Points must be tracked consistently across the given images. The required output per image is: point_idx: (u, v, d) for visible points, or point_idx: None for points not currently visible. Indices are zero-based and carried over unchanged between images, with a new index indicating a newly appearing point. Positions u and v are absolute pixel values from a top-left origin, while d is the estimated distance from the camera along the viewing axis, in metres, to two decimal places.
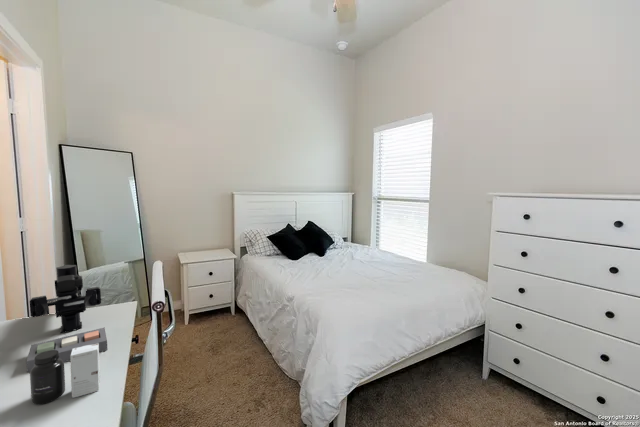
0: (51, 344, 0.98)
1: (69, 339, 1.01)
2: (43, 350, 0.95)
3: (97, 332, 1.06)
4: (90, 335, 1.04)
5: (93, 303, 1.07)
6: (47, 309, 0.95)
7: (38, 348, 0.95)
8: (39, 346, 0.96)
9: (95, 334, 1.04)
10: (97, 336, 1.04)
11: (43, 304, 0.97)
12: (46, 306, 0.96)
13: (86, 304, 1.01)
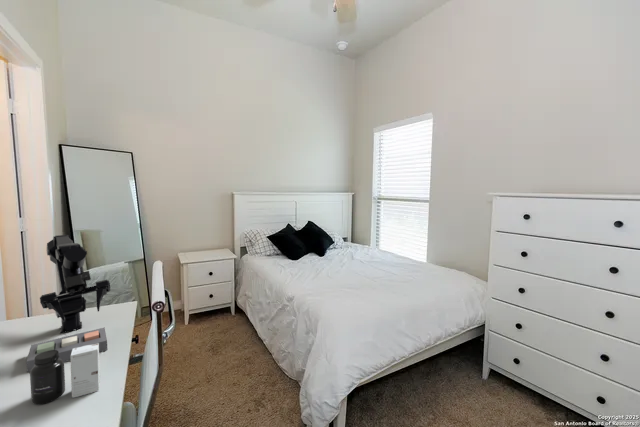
0: (51, 344, 0.98)
1: (69, 339, 1.01)
2: (43, 350, 0.95)
3: (97, 332, 1.06)
4: (90, 335, 1.04)
5: (103, 294, 1.09)
6: (62, 317, 0.97)
7: (38, 348, 0.95)
8: (39, 346, 0.96)
9: (95, 334, 1.04)
10: (97, 336, 1.04)
11: (56, 307, 0.97)
12: (60, 311, 0.98)
13: (99, 307, 1.04)
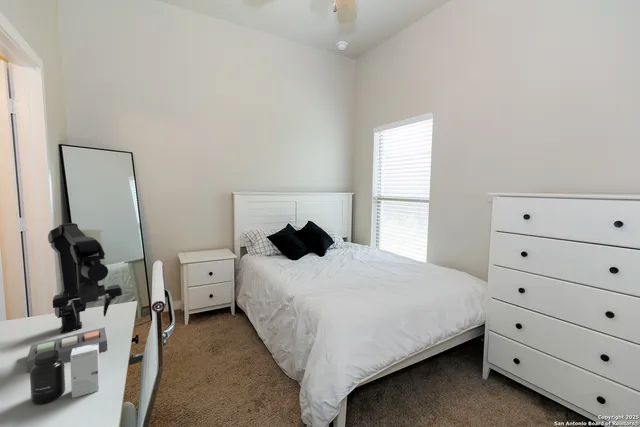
0: (51, 344, 0.98)
1: (69, 339, 1.01)
2: (43, 350, 0.95)
3: (97, 332, 1.06)
4: (90, 335, 1.04)
5: None
6: (75, 320, 1.01)
7: (38, 348, 0.95)
8: (39, 346, 0.96)
9: (95, 334, 1.04)
10: (97, 336, 1.04)
11: (70, 311, 0.99)
12: (73, 314, 1.00)
13: (105, 312, 1.07)
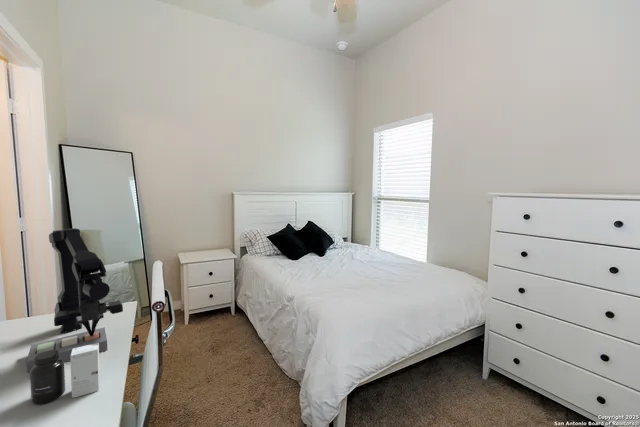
0: (51, 344, 0.98)
1: (69, 339, 1.01)
2: (43, 350, 0.95)
3: (97, 333, 1.06)
4: (90, 336, 1.04)
5: None
6: (90, 333, 1.04)
7: (38, 348, 0.95)
8: (39, 346, 0.96)
9: (95, 335, 1.05)
10: (97, 337, 1.04)
11: (85, 325, 1.02)
12: (88, 328, 1.03)
13: (93, 332, 1.05)
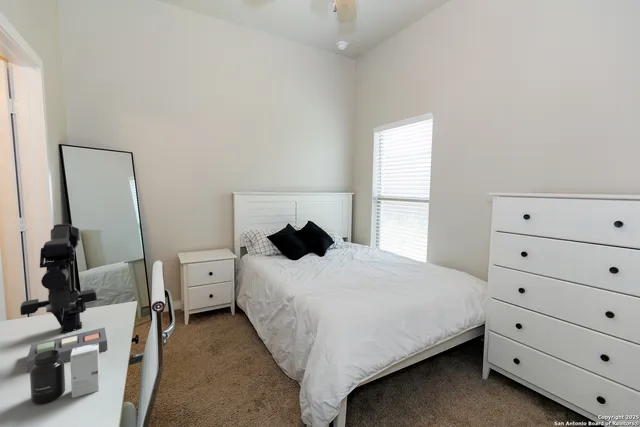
0: (51, 344, 0.98)
1: (69, 339, 1.01)
2: (43, 350, 0.95)
3: (97, 335, 1.06)
4: (90, 337, 1.04)
5: None
6: (61, 323, 0.98)
7: (38, 348, 0.95)
8: (39, 346, 0.96)
9: (95, 337, 1.05)
10: None
11: (55, 314, 0.97)
12: (59, 318, 0.98)
13: (65, 322, 1.00)
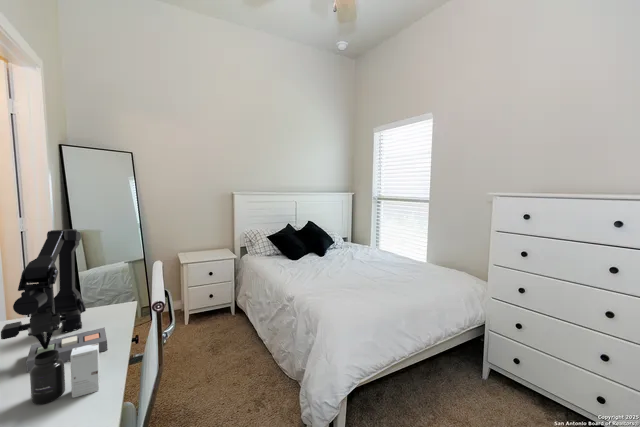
0: (51, 346, 0.98)
1: (69, 339, 1.01)
2: None
3: (97, 335, 1.06)
4: (90, 337, 1.04)
5: None
6: (44, 346, 0.96)
7: (38, 351, 0.95)
8: (39, 349, 0.96)
9: (95, 337, 1.05)
10: None
11: (38, 337, 0.95)
12: (42, 341, 0.96)
13: (48, 344, 0.97)
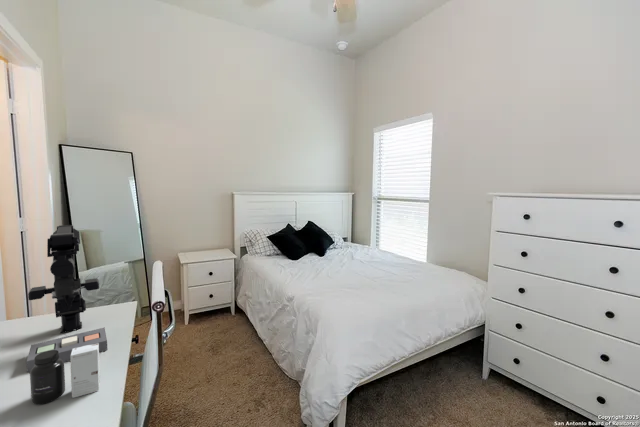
0: (51, 346, 0.98)
1: (69, 339, 1.01)
2: None
3: (97, 335, 1.06)
4: (90, 337, 1.04)
5: None
6: (66, 309, 1.05)
7: (38, 351, 0.95)
8: (39, 349, 0.96)
9: (95, 337, 1.05)
10: None
11: (60, 301, 1.03)
12: (64, 304, 1.04)
13: (69, 308, 1.06)
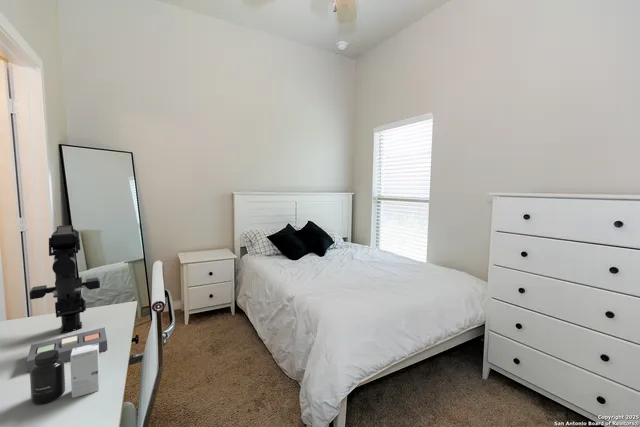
0: (51, 346, 0.98)
1: (69, 339, 1.01)
2: None
3: (97, 335, 1.06)
4: (90, 337, 1.04)
5: None
6: (67, 308, 1.05)
7: (38, 351, 0.95)
8: (39, 349, 0.96)
9: (95, 337, 1.05)
10: None
11: (62, 300, 1.04)
12: (65, 303, 1.05)
13: (70, 307, 1.07)
